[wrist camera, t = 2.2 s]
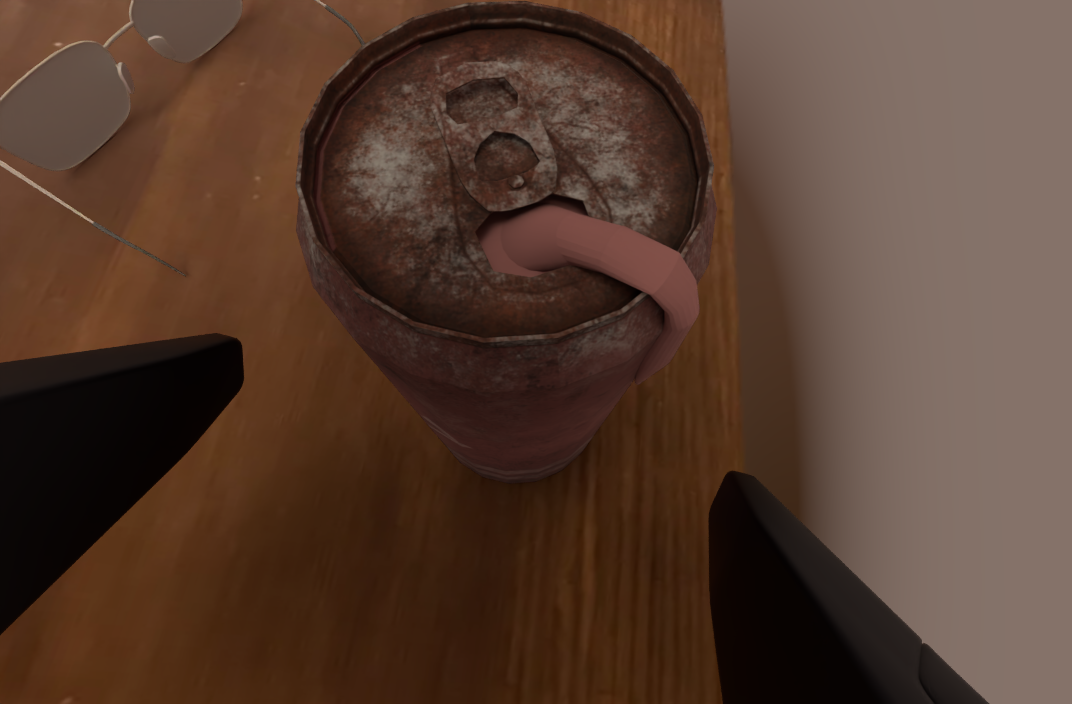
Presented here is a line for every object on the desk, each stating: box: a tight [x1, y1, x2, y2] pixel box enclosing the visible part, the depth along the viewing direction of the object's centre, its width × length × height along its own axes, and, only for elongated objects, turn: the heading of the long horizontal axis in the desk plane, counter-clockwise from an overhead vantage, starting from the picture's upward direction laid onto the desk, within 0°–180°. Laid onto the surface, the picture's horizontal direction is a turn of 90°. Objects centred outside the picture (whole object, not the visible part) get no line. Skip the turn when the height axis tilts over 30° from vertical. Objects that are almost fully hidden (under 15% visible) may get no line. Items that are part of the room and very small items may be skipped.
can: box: [296, 1, 717, 484], centre depth 13 cm, size 6×6×14 cm
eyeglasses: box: [0, 0, 365, 276], centre depth 22 cm, size 14×8×4 cm, turn 149°
